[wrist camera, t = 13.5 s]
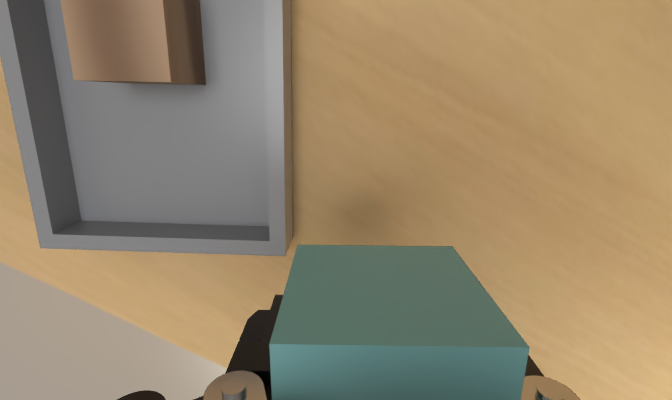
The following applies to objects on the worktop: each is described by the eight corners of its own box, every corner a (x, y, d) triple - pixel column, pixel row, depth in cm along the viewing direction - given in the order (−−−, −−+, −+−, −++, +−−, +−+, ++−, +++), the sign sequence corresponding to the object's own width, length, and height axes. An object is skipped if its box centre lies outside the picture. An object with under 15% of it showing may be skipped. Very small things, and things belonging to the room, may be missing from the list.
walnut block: (199, -2, 22) (159, -29, 17) (206, 85, 24) (170, 82, 19) (117, -3, 22) (55, -31, 17) (128, 83, 24) (73, 80, 19)
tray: (290, -43, 22) (281, -67, 19) (292, 236, 27) (285, 256, 24) (29, -48, 22) (-27, -74, 19) (77, 229, 27) (40, 248, 24)
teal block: (452, 246, 12) (529, 347, 7) (439, 376, 13) (496, 535, 8) (298, 244, 12) (269, 343, 7) (300, 373, 13) (278, 531, 8)
